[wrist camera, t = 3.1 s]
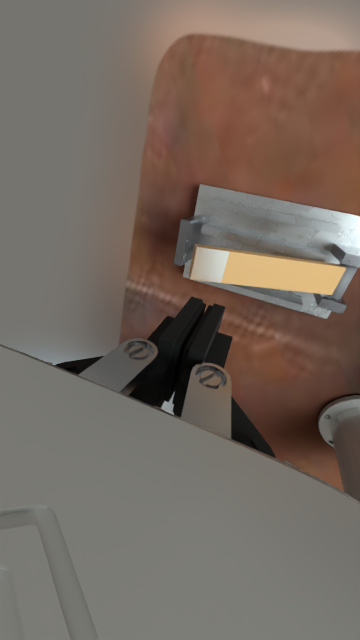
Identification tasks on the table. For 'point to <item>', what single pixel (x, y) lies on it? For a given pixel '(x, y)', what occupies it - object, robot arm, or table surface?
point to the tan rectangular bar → (269, 271)
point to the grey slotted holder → (271, 240)
